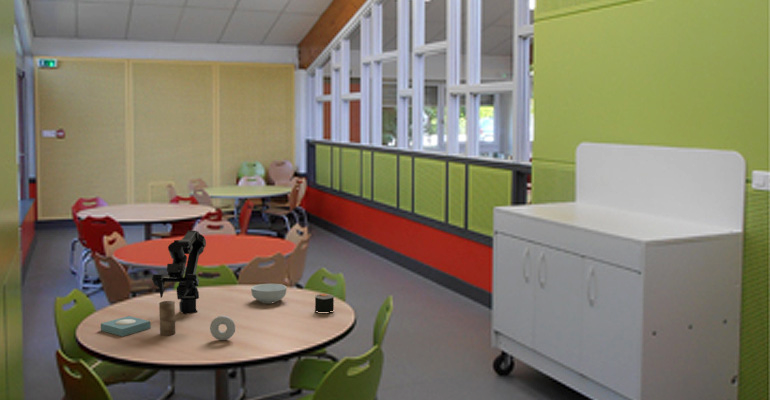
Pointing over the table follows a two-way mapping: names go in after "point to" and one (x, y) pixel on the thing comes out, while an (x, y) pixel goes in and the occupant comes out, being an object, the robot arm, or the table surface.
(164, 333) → the walnut post
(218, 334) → the donut
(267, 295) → the cereal bowl
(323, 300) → the sushi
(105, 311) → the table surface
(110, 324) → the plinth
